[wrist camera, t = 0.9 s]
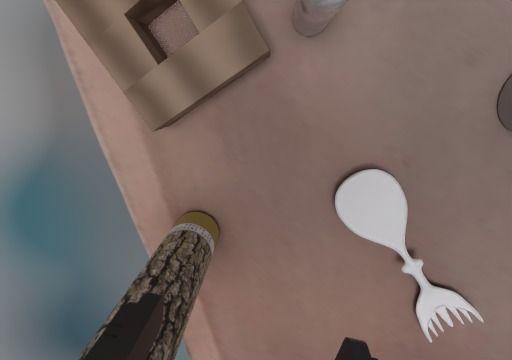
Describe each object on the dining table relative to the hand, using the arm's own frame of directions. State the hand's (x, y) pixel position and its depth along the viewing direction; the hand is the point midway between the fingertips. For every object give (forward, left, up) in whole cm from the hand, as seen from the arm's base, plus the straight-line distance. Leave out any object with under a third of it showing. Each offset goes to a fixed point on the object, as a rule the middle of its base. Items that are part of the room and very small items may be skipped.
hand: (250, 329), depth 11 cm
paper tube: (+15, +4, -26) cm, 30 cm away
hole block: (+1, -19, -26) cm, 32 cm away
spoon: (-11, +23, -27) cm, 37 cm away
